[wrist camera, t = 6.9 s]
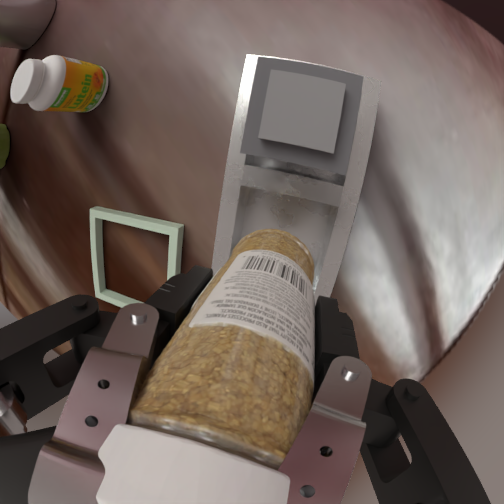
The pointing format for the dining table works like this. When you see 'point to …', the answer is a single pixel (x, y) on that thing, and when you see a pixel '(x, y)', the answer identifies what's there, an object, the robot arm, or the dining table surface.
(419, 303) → the dining table surface
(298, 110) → the grey stepped square plug
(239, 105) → the divided grey caddy
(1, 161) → the plant pot
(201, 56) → the dining table surface
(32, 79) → the supplement bottle
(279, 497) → the sprinkles bottle
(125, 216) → the tray frame
